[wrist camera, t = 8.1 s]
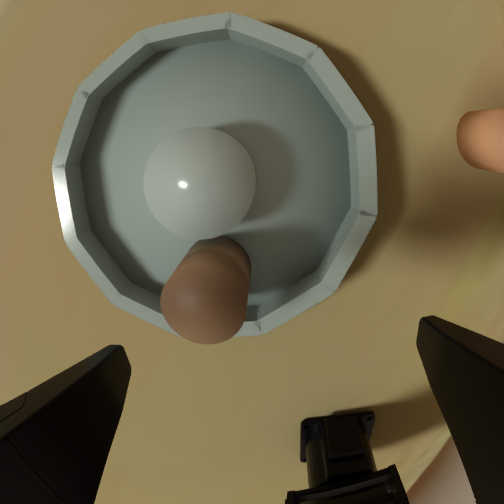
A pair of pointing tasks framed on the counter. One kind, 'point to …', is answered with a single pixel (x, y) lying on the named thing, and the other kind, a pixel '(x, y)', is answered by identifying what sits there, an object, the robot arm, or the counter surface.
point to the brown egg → (482, 139)
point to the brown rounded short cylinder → (208, 291)
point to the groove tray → (260, 115)
